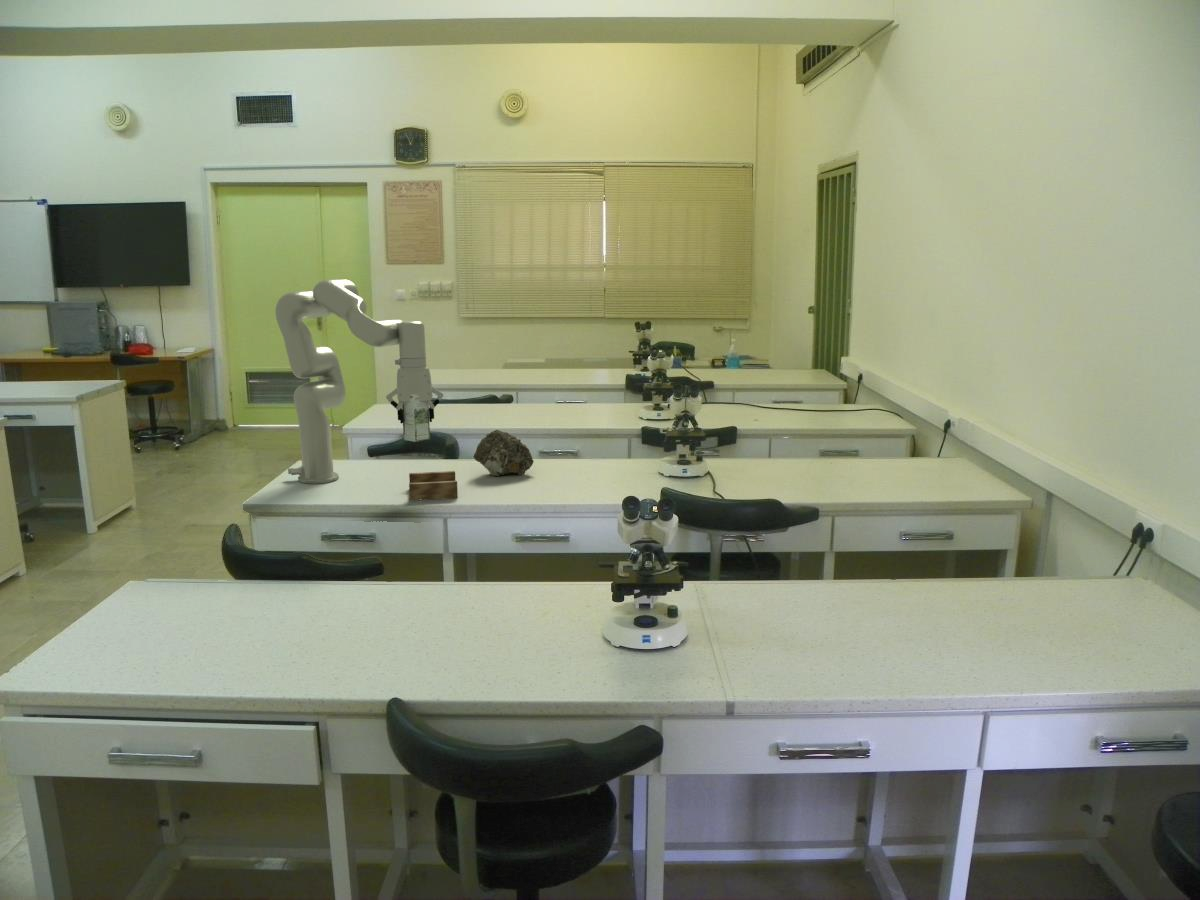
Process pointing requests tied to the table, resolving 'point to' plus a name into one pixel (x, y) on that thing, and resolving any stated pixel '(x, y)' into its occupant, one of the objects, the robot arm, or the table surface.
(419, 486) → the walnut rack
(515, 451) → the rock
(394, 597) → the table surface
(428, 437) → the syrup box
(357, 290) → the robot arm
